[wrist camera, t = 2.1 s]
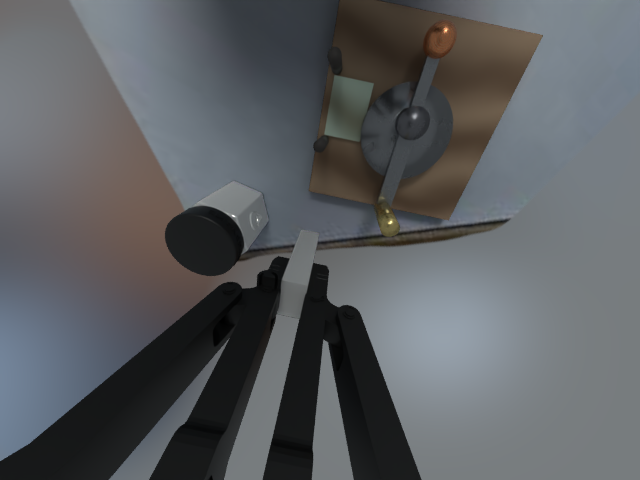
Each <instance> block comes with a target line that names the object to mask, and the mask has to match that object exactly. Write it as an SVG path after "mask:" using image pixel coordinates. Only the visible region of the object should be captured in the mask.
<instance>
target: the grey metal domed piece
mask: <svg viewBox="0 0 640 480" xmlns="http://www.w3.org/2000/svg"><path fill="white" fill-rule="evenodd" d="M456 37H457V29H456V26H455V24H454V23H453V22H452V21H450V20H447V19H443V20H440V21H437V22H436V23H434V24H433V25H432V26H431V27H430V28H429V30H428V31H427V33H426V35H425V37H424V40H423V50H424V53H425V55H426V57H425V60H424V63H423V66H422V69H421V72H420V75H419V78H418V81H416V82H406V83H402V84H399V85H396V86H394V87H392V88H390V89H389V90H387V91H386V92H384V93H383V94H382V95H380V96H379V97H378V98H377V99H376V100H375V101H374V102H373V104H372V105H371V106H370V108H369V110H368V111H367V113H366V115H365V117H364V120H363V123H362V127H361V135H360V140H361V148H362V151H363V154H364V156H365V158H366V160H367V162H368V163H369V165H370V166H371V167H372V168H373V169H374V170H375V171H376V172H378V173H379V174H381V175H383V176H384V178H383V181H382V184H381V187H380V190H379V193H378V197H377V200H376V203H375V205H374V211H375V214H376V217H377V220H378V224H379V227H380V230H381V233H382V234H383V235H384V236H387V237H392V236H394V235H396V234H397V233H398V232H399V230H400V226H399V223H398V221H397V219H396V217H395V215H394V213H393V211H392V209H391V205H392V202H393V199H394V196H395V193H396V191H397V188H398V185H399V182H400V179H406V178H411V177H414V176H417V175H419V174H421V173H423V172H425V171H426V170H428V169H429V168H430V167H432V166H433V165H434V164H435V163H436V162H437V161H438V160H439V159H440V157H441V156H442V155H443V153H444V152H445V150H446V148H447V146H448V144H449V141H450V139H451V135H452V130H453V114H452V110H451V106H450V104H449V102H448V100H447V98H446V97H445V95H444V94H443V93H442V92H441V91H440V90H439V89H437V88H436V87H434V86H432V85H431V83H432V80H433V77H434V74H435V71H436V69H437V66H438V63H439V60H440V58H442V57H444V56H445V55H447V54H448V53H449V52H450V50H451V49H452V48H453V46H454V44H455V41H456Z"/></svg>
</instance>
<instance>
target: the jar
mask: <svg viewBox="0 0 640 480" xmlns="http://www.w3.org/2000/svg"><path fill="white" fill-rule="evenodd" d="M268 221H269V218H268V214H267V210H266V206H265V202H264V198H263V194H262V193H261V192H259V191H256V190H254V189H252V188H249V187H247V186H245V185H242V184H240V183H238V182H236V181H232V182H230V183H229V184H227V185H225V186H223V187H222V188H220V189H218V190H217V191H215V192H213V193H212V194H210V195H208V196H207V197H205V198H203V199H201V200H200V201H198V202H197V203H196V204H195V205H194V206H193V207H192V208H189V209H187V210H186V211H184V212H182V213H181V214H179V215H177V216H176V217H174V218H173V219H172V220H171V221H170V222H169V223H168V225H167V228H166V231H165V240H166V244H167V247H168V249H169V251H170V252H171V254H172V256H173V257H174V258H175V259H176V260H177V261H178V262H179V263H180V264H181V265H182V266H184V267H185V268H187V269H189V270H190V271H192V272H195V273H197V274H201V275H206V276H216V275H221V274H224V273H226V272H227V271H228V270H230V269H231V268H232V266H234V265H235V264H236V262H237V261H238V260H239V258H240V256H241V255H242V254H243V253H245V252H246V251H247V250H248V249H249V248H250V246H251V245H252V243H253V242H254V241H255V239H256V238H257V237H258V235H259V234H260V232H261V231H262V230H263V228H264V227H265V225H266V224H267V223H268Z"/></svg>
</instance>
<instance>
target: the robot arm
mask: <svg viewBox="0 0 640 480" xmlns="http://www.w3.org/2000/svg"><path fill="white" fill-rule="evenodd" d="M318 237H319V233H316V232H312V231H307V230H302V229H301V231H300V234H299V237H298V239H297V242H296V244H295V247H294V250H293V252H292V255H291V257H290V259H289V258H284V257H279V256H278V257H277V258H275V259H274V260H273V261H272V263H271V265H270V267H269V269H268V270H265V271H262V272H260V273H259V274H258V275H257V287H254V288H246V289H242V287H241V286H240V285H239V284H238V283H235V282H227V283H223V284H221V285H220V286H218V287H217V288H216V289H215V290H214V291H212V292H211V293H210V294H209V295H207V296H206V297H205V298H204V299H203V300H201V301H200V302H199V303H198V304H197V305H196V306H194V307H193V308H192V309H191V310H190V311H188V312H187V313H186V314H185V315H184V316H182V317H181V318H180V319H179V320H178V321H176V322H175V323H174V324H173V325H172V326H170V327H169V328H168V329H167V330H166V331H164V332H163V333H162V334H161V335H160V336H158V337H157V338H156V339H155V340H153V341H152V342H151V343H150V344H149V345H147V346H146V347H145V348H144V349H143V350H141V352H139V353H138V354H137V355H135V356H134V357H133V358H132V359H131V360H129V361H128V362H127V363H126V364H125V365H123V366H122V367H121V368H120V369H119V370H117V371H116V372H115V373H114V374H113V375H111V376H110V377H109V378H108V379H107V380H105V381H104V382H103V383H102V384H101V385H99V386H98V387H97V388H96V389H95V390H93V391H92V392H91V393H90V394H89V395H87V396H86V397H85V398H84V399H82V400H81V401H80V402H79V403H78V404H76V405H75V406H74V407H73V408H72V409H70V410H69V411H68V412H67V413H66V414H64V415H63V416H62V417H61V418H60V419H58V420H57V421H56V422H55V423H54V424H53V425H51V426H50V427H49V428H48V429H46V430H45V431H44V432H43V433H42V434H40V435H39V436H38V437H37V438H36V439H34V440H33V441H32V442H31V443H30V444H28V445H27V446H25V447H23V448H22V449H20V450H18V451H17V452H15V453H13V454H12V455H10V456H8V457H7V458H5V459H3V460H2V461H0V480H109V479H110V477H111V476H112V475H113V474H114V473H115V472H116V471H117V469H118V468H119V467H120V466H121V464H123V462H124V461H125V460H126V459H127V458H128V456H129V455H130V454H131V453H132V451H134V449H135V448H136V447H137V446H138V445H139V444H140V442H141V441H142V440H143V439H144V438H145V436H146V435H147V434H148V433H149V432H150V431H151V429H152V428H153V427H154V426H155V425H156V424H157V422H158V421H159V420H160V419H161V418H162V417H163V415H164V414H165V413H166V412H167V411H168V409H169V408H170V407H171V406H172V405H173V404H174V402H175V401H176V400H177V399H178V398H179V396H180V395H181V394H182V393H183V392H184V391H185V389H186V388H187V387H188V386H189V385H190V384H191V382H192V381H193V380H194V379H195V378H196V376H197V375H198V374H199V373H200V372H201V371H202V369H203V368H204V367H205V366H206V365H207V364H208V362H209V361H210V360H211V359H212V358H213V356H214V355H215V354H216V353H217V352H218V351H219V350H220V348H221V347H222V346H223V345H224V344H225V342H226V341H227V340H228V339H229V338H230V339H229V341H228V343H227V345H226V347H225V349H224V350H223V352H222V354H221V356H220V358H219V360H218V362H217V364H216V366H215V368H214V370H213V372H212V374H211V376H210V378H209V379H208V381H207V383H206V385H205V387H204V389H203V391H202V393H201V395H200V397H199V399H198V401H197V403H196V405H195V407H194V408H193V410H192V412H191V414H190V416H189V418H188V420H187V421H186V422H185V424H183V425H182V426H180V427H179V428H178V430H177V431H176V432H175V433H174V435H173V437H172V438H171V440H170V442H169V444H168V446H167V447H166V449H165V451H164V453H163V455H162V457H161V459H160V460H159V462H158V464H157V466H156V468H155V470H154V472H153V473H152V475H151V477H150V479H149V480H224V477H225V473H226V467H227V464H228V460H229V457H230V454H231V451H232V448H233V445H234V442H235V439H236V436H237V433H238V431H239V427H240V425H241V422H242V419H243V416H244V412H245V410H246V407H247V404H248V401H249V398H250V395H251V392H252V389H253V386H254V383H255V380H256V377H257V374H258V371H259V368H260V365H261V362H262V359H263V356H264V353H265V350H266V347H267V344H268V341H269V338H270V335H271V333H272V330H273V326H274V324H275V319H276V314H279V315H283V316H288V317H293V318H298V319H299V324H298V328H297V333H296V337H295V342H294V346H293V350H292V355H291V359H290V364H289V368H288V372H287V377H286V381H285V385H284V390H283V394H282V399H281V403H280V407H279V412H278V416H277V421H276V425H275V430H274V434H273V438H272V442H271V446H270V450H269V454H268V458H267V463H266V467H265V472H264V476H263V480H312V468H313V450H312V446H313V436H314V426H315V415H316V405H317V396H318V385H319V375H320V365H321V356H322V344H323V339H324V340H325V341H327V342H328V345H329V350H330V355H331V360H332V366H333V371H334V377H335V382H336V387H337V392H338V398H339V403H340V408H341V414H342V418H343V424H344V430H345V435H346V440H347V446H348V451H349V456H350V462H351V467H352V472H353V477H354V480H421V477H420V475H419V472H418V469H417V466H416V464H415V461H414V458H413V456H412V453H411V450H410V447H409V445H408V442H407V439H406V437H405V434H404V431H403V429H402V426H401V423H400V420H399V418H398V415H397V412H396V409H395V407H394V404H393V401H392V399H391V396H390V393H389V390H388V388H387V385H386V382H385V380H384V377H383V374H382V371H381V369H380V366H379V363H378V361H377V358H376V355H375V352H374V350H373V347H372V344H371V342H370V339H369V336H368V333H367V331H366V328H365V325H364V323H363V320H362V317H361V315H360V313H359V311H358V310H357V309H356V308H354V307H352V306H349V305H343V306H341V307H337V306H335V305H333V304H331V303H330V302H329V301H328V299H327V285H328V275H329V270H328V268H327V266H325V265H320V264H315V263H313V262H314V257H315V252H316V247H317V242H318ZM277 311H278V313H277Z"/></svg>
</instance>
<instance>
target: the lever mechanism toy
mask: <svg viewBox="0 0 640 480" xmlns="http://www.w3.org/2000/svg"><path fill="white" fill-rule="evenodd" d="M443 19H447V20H450V21H452V22H453V23H454V24H455V26H456V29H457V37H456V41H455V44H454V46H453V48H452V49H451V50H450V52H449V53H448V54H447V55H445V56H444V57H442V58H440V60H439V63H438V66H437V69H436V71H435V74H434V77H433V80H432V83H431V85H432V86H434V87H436V88H437V89H439V90H440V91H441V92H442V93H443V94H444V95H445V97H446V98H447V100H448V102H449V104H450V106H451V110H452V114H453V130H452V135H451V139H450V141H449V144H448V146H447V148H446V150H445V152H444V153H443V155H442V156H441V157H440V159H439V160H438V161H437V162H436V163H435V164H434V165H433V166H432V167H430V168H429V169H428V170H426V171H425V172H423V173H421V174H419V175H417V176H414V177H411V178H406V179H400V182H399V185H398V188H397V191H396V193H395V196H394V199H393V202H392V205H391V208H392V209H397V210H401V211H406V212H411V213H416V214H421V215H425V216H430V217H435V218H440V219H445V220H449V218H450V216H451V214H452V213H453V211H454V209H455V207H456V205H457V203H458V201H459V199H460V197H461V195H462V193H463V191H464V189H465V187H466V185H467V183H468V181H469V179H470V177H471V175H472V173H473V171H474V170H475V168H476V166H477V164H478V162H479V160H480V158H481V156H482V154H483V152H484V150H485V148H486V146H487V144H488V142H489V140H490V138H491V136H492V134H493V132H494V130H495V128H496V126H497V125H498V123H499V121H500V119H501V117H502V115H503V113H504V111H505V109H506V107H507V105H508V103H509V101H510V99H511V97H512V95H513V93H514V91H515V89H516V87H517V85H518V83H519V82H520V80H521V78H522V76H523V74H524V72H525V70H526V68H527V66H528V64H529V62H530V60H531V58H532V56H533V54H534V52H535V50H536V48H537V46H538V44H539V42H540V40H541V38H542V37H543V35H540V34H535V33H530V32H525V31H521V30H516V29H511V28H507V27H502V26H497V25H492V24H488V23H483V22H478V21H473V20H469V19H464V18H459V17H455V16H450V15H445V14H440V13H436V12H431V11H426V10H421V9H417V8H412V7H407V6H403V5H398V4H393V3H388V2H384V1H379V0H339V6H338V13H337V19H336V25H335V31H334V37H333V44H332V48H331V49H330V50H329V52H328V60H329V68H328V75H327V81H326V87H325V93H324V100H323V106H322V112H321V118H320V124H319V131H318V137H317V141H316V142H315V143H314V150H315V155H314V162H313V168H312V174H311V180H310V186H309V191H310V192H315V193H320V194H325V195H330V196H334V197H339V198H344V199H349V200H354V201H358V202H363V203H368V204H373V205H375V203H376V200H377V197H378V193H379V190H380V187H381V184H382V181H383V178H384V176H383V175H381V174H379V173H378V172H376V171H375V170H374V169H373V168H372V167H371V166H370V165H369V163H368V162H367V160H366V158H365V156H364V154H363V151H362V148H361V140H360V135H361V127H362V123H363V120H364V117H365V115H366V113H367V111H368V110H369V108H370V106H371V105H372V104H373V102H374V101H375V100H376V99H377V98H378V97H379V96H380V95H382V94H383V93H384V92H386V91H387V90H389V89H390V88H392V87H394V86H396V85H399V84H402V83H406V82H416V81H418V78H419V75H420V72H421V69H422V66H423V63H424V60H425V57H426V55H425V53H424V50H423V40H424V37H425V35H426V33H427V31H428V30H429V28H430V27H431V26H432V25H433V24H434V23H436V22H437V21H440V20H443Z"/></svg>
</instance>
